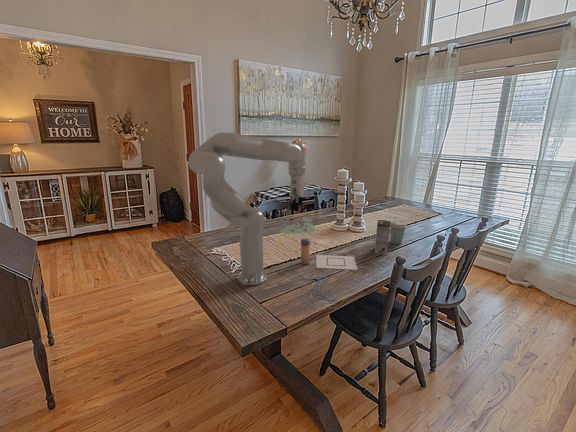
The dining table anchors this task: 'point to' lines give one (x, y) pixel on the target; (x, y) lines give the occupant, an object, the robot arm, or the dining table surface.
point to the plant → (299, 228)
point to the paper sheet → (336, 262)
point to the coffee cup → (397, 232)
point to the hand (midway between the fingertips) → (297, 207)
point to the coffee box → (382, 237)
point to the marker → (305, 251)
